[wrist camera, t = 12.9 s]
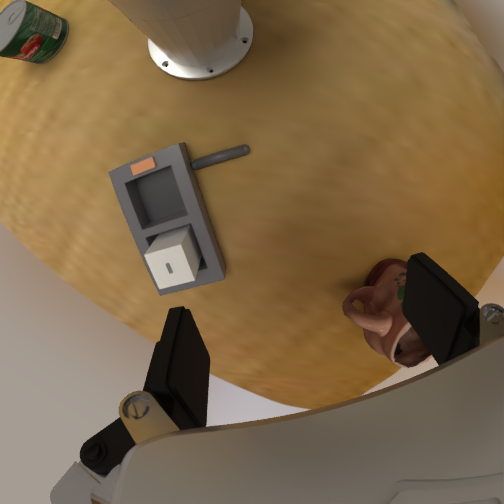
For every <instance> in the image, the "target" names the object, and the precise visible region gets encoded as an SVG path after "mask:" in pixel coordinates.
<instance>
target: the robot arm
mask: <svg viewBox="0 0 504 504" xmlns="http://www.w3.org/2000/svg"><path fill="white" fill-rule="evenodd" d="M108 1H110V2H111V3H112V4H113V5H114V6H115V7H117V8H118V9H119V10H120V11H121V12H122V13H123V14H124V15H125V16H126V17H127V18H128V19H129V20H130V21H131V22H132V23H134V24H135V25H136V26H137V27H138V28H139V29H140V30H141V31H142V32H143V33H144V34H145V35H146V36H147V37H148V50H149V53H150V56H151V58H152V60H153V61H154V62H155V64H156V65H157V66H158V67H159V68H160V69H162V70H163V71H164V72H166V73H167V74H169V75H171V76H174V77H176V78H180V79H185V80H203V79H208V78H212V77H216V76H218V75H221V74H223V73H225V72H227V71H229V70H230V69H232V68H233V67H235V66H236V65H237V64H238V63H239V62H240V61H241V60H242V59H243V58H244V56H245V55H246V54H247V52H248V50H249V48H250V46H251V43H252V39H253V24H252V21H251V18H250V16H249V14H248V13H247V11H246V10H245V9H244V8H243V7H242V6H241V0H108ZM243 41H246V42H247V43H243ZM166 64H169V65H168V66H167V67H165V65H166ZM210 70H213V73H209V71H210ZM478 304H479V302H478V301H477V300H476V299H475V298H474V297H473V296H472V295H471V294H470V293H469V292H468V291H467V290H466V289H465V288H464V287H462V286H461V285H460V284H459V283H458V282H457V281H456V280H455V279H454V278H453V277H452V276H450V275H449V274H448V273H447V272H446V271H445V270H444V269H442V268H441V267H440V266H439V265H438V264H437V263H435V262H434V261H433V260H432V259H431V258H430V257H428V256H427V255H426V254H425V253H423V252H421V253H418V254H414V255H411V257H410V259H409V260H408V261H407V271H406V282H405V291H404V299H403V306H402V312H403V315H404V317H405V318H406V319H407V321H408V322H409V323H410V325H411V326H412V327H413V329H414V330H415V332H416V333H417V334H418V336H419V337H420V339H421V340H422V341H423V343H424V344H425V346H426V347H427V349H428V350H429V352H430V353H431V354H432V356H433V357H434V359H435V360H436V362H437V363H438V365H439V366H437V367H435V368H433V369H431V370H428V371H426V372H424V373H422V374H419V375H417V376H414V377H412V378H410V379H407V380H405V381H402V382H399V383H397V384H394V385H392V386H389V387H386V388H383V389H381V390H378V391H375V392H372V393H369V394H366V395H363V396H360V397H356V398H353V399H350V400H346V401H343V402H340V403H336V404H332V405H328V406H325V407H321V408H317V409H313V410H308V411H305V412H299V413H295V414H290V415H285V416H280V417H274V418H268V419H263V420H256V421H249V422H243V423H236V424H227V425H219V426H209V427H206V423H207V404H208V387H209V372H210V356H209V353H208V351H207V349H206V346H205V344H204V342H203V340H202V337H201V335H200V333H199V330H198V328H197V326H196V323H195V321H194V319H193V316H192V314H191V311H190V310H189V309H185V307H184V306H181V307H175V308H170V309H169V312H168V315H167V319H166V322H165V325H164V329H163V332H162V336H161V339H160V341H158V342H157V343H156V345H155V348H154V352H153V355H152V359H151V363H150V366H149V370H148V373H147V377H146V381H145V385H144V388H143V391H136V392H132V393H130V394H128V395H127V396H126V397H125V398H124V399H123V400H122V401H121V403H120V406H119V415H120V417H119V418H118V419H117V420H115V421H114V422H113V423H111V424H110V425H108V426H107V427H106V428H104V429H103V430H101V431H100V432H98V433H97V434H96V435H94V436H93V437H91V438H90V439H89V440H87V441H86V442H85V443H84V444H83V446H82V447H81V450H80V459H81V461H80V462H79V463H77V462H74V464H73V465H72V466H71V467H70V468H69V470H68V471H67V472H66V473H65V474H64V476H63V477H62V478H61V479H60V480H59V482H58V483H57V484H56V485H55V486H54V487H53V489H52V491H51V494H50V498H51V503H52V504H504V308H503V307H501V306H499V305H497V304H493V303H489V304H485V305H483V306H482V307H481V309H479V308H478Z"/></svg>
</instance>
